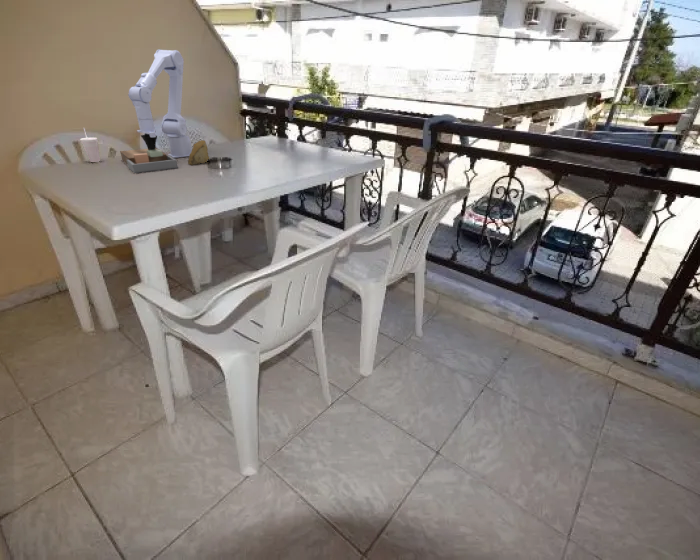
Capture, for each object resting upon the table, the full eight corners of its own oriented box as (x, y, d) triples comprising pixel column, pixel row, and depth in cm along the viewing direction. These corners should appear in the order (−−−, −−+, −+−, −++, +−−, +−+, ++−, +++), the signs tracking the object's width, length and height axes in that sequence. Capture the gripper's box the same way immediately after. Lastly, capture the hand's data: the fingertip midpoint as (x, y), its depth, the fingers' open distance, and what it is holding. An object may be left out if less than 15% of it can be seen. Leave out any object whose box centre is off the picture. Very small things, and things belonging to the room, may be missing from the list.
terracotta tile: (146, 153, 160) (147, 154, 159) (148, 165, 162) (150, 166, 161) (133, 154, 157) (134, 155, 156) (136, 166, 160) (137, 167, 158)
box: (170, 163, 168) (169, 155, 166) (178, 168, 161) (176, 159, 159) (128, 168, 158) (126, 159, 156) (134, 173, 152) (132, 164, 150)
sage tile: (159, 153, 166) (158, 149, 165) (163, 155, 163) (162, 151, 162) (147, 154, 163) (146, 150, 162) (150, 157, 160) (149, 152, 159)
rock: (187, 161, 162) (211, 156, 166) (181, 143, 163) (204, 138, 166) (190, 171, 173) (212, 167, 176) (184, 154, 173) (206, 150, 176)
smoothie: (85, 161, 166) (75, 127, 159) (102, 159, 170) (92, 126, 163) (88, 164, 162) (78, 129, 155) (105, 162, 166) (95, 128, 159)
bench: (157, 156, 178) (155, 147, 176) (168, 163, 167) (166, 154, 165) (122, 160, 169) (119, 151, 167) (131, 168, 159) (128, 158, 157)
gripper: (130, 117, 160) (138, 150, 167) (139, 121, 151) (147, 156, 158) (148, 116, 164) (155, 148, 171) (157, 120, 155) (164, 154, 162)
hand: (152, 152), depth 165 cm, fingers closed
